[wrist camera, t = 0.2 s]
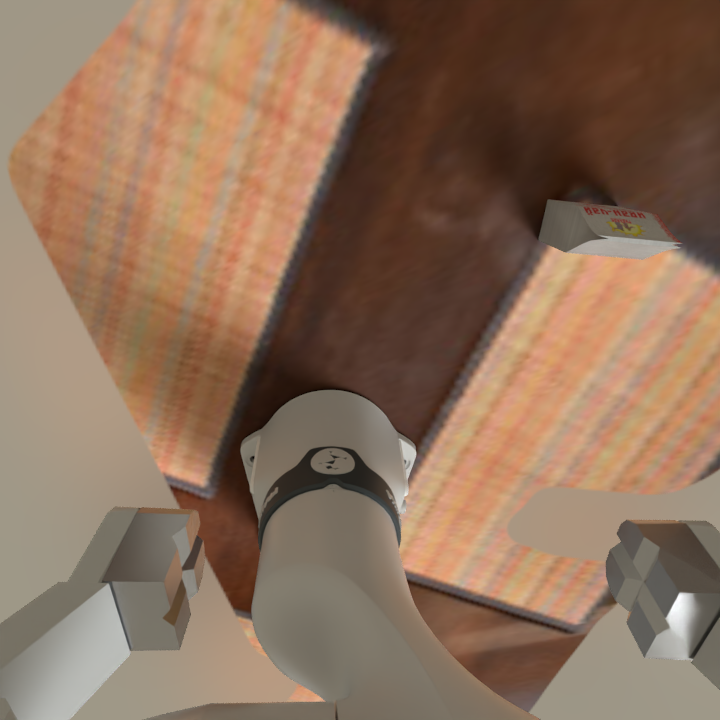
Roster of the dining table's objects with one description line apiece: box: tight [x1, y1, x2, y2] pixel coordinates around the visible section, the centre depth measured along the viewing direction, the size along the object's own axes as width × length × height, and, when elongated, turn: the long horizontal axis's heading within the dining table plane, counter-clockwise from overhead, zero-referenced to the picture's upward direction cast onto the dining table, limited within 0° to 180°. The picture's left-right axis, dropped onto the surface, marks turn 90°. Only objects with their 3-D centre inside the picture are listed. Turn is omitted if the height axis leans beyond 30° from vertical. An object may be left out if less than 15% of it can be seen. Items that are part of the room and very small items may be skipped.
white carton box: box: [538, 199, 682, 260], centre depth 42 cm, size 4×7×10 cm, turn 84°
